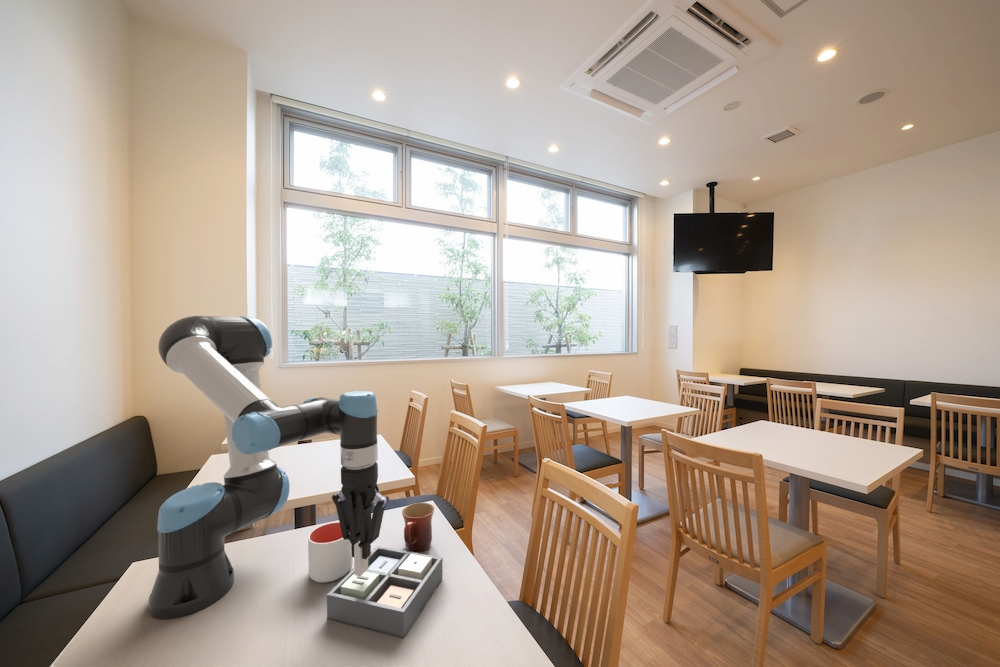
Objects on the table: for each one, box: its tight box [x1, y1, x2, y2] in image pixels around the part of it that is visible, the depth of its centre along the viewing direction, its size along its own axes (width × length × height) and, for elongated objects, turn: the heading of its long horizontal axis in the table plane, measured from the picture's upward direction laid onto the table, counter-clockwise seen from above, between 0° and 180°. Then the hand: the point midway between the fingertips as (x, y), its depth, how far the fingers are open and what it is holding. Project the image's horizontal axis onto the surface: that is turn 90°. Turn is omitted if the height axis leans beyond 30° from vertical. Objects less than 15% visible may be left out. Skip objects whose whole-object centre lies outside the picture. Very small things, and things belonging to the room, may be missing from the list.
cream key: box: [398, 554, 432, 580], centre depth 87 cm, size 6×6×4 cm
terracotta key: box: [377, 585, 414, 608], centre depth 79 cm, size 6×6×4 cm
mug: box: [401, 502, 435, 553], centre depth 102 cm, size 12×9×10 cm
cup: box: [307, 521, 354, 584], centre depth 93 cm, size 10×10×10 cm
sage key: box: [341, 572, 379, 600], centre depth 81 cm, size 6×6×4 cm
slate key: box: [368, 556, 400, 573], centre depth 89 cm, size 6×6×4 cm
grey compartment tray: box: [326, 545, 443, 639], centre depth 84 cm, size 18×18×5 cm
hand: (361, 571), depth 81 cm, fingers closed
